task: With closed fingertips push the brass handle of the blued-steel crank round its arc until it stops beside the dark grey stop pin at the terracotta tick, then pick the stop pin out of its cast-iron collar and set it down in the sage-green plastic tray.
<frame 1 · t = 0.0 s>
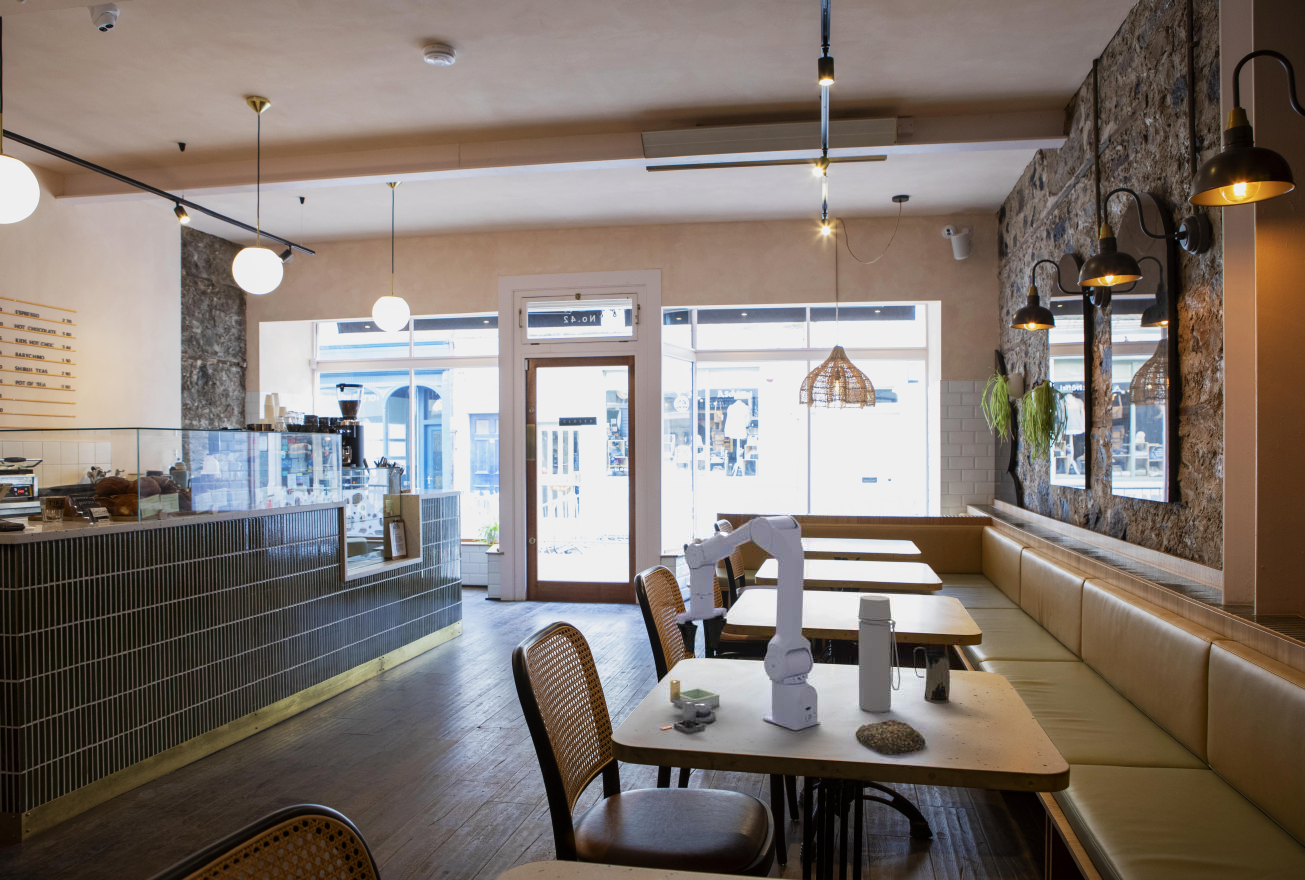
hand: (702, 649, 204), 10 cm above the table, fingers open, 7 cm apart
water bottle: (879, 710, 190), on the table
stop pin: (689, 728, 177), resting in crank base
crank base: (699, 718, 183), on the table
brown rock: (891, 745, 168), on the table
tray: (696, 704, 193), on the table
mug: (931, 700, 197), on the table
crank: (689, 697, 185), point 4 cm above the table, hinge at 10.0°
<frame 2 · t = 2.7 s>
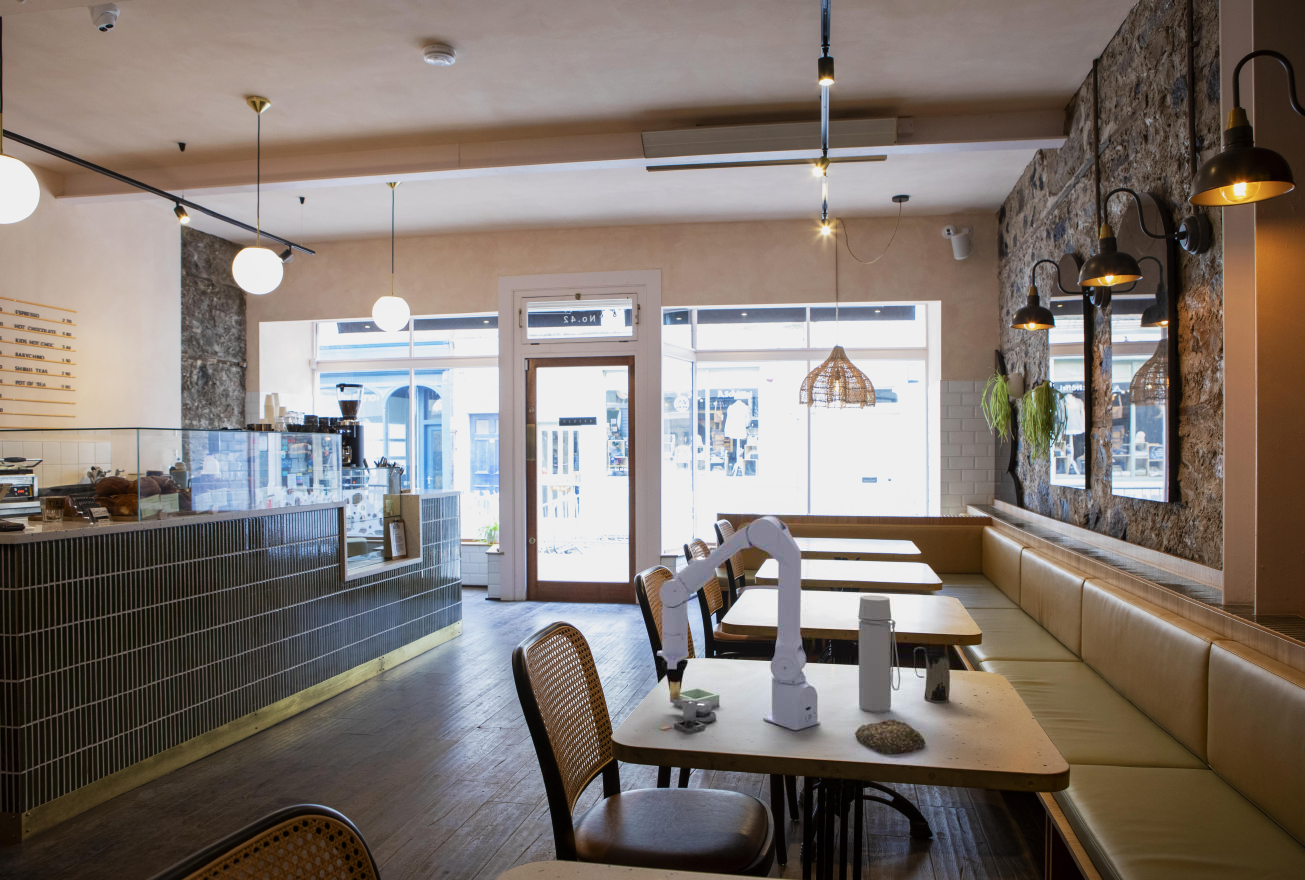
hand: (675, 693, 190), 4 cm above the table, fingers closed, pressing on crank
crank: (689, 697, 185), point 4 cm above the table, hinge at 10.8°, touching gripper
everything else where it was.
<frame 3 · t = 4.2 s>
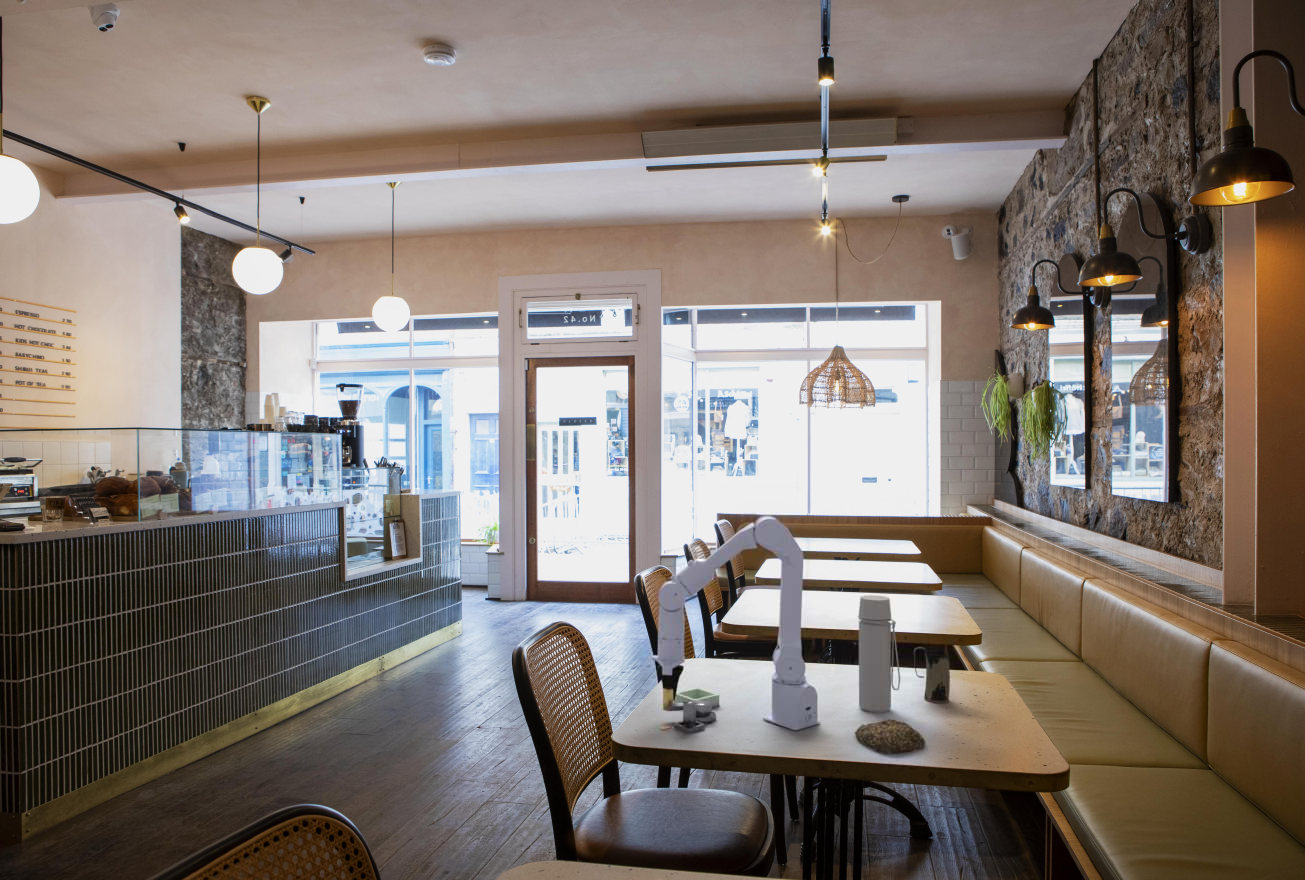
hand: (669, 699, 184), 4 cm above the table, fingers closed, pressing on crank
crank: (687, 700, 183), point 4 cm above the table, hinge at 60.8°, touching gripper
everything else where it was.
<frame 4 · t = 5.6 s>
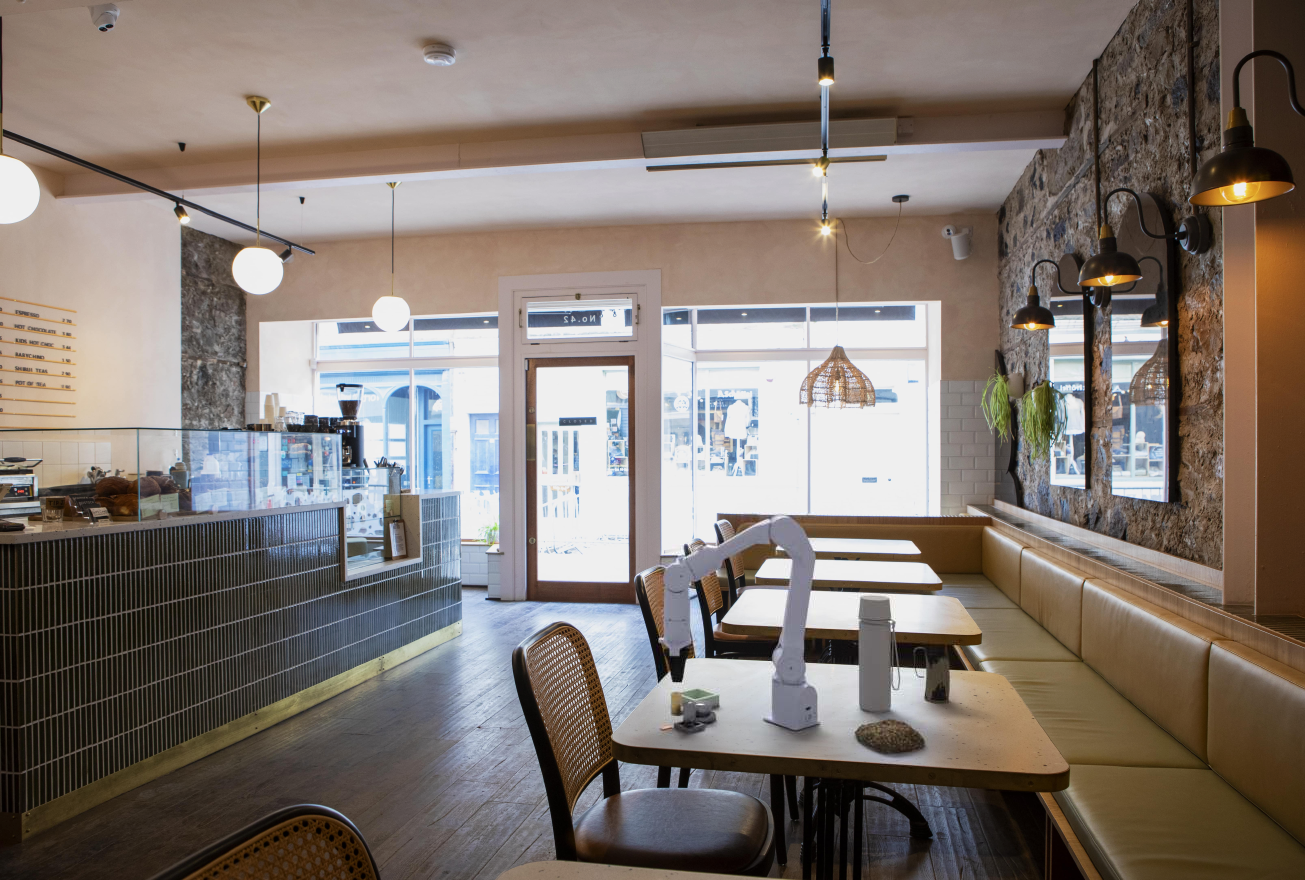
hand: (677, 681, 183), 8 cm above the table, fingers closed
crank: (690, 702, 181), point 4 cm above the table, hinge at 92.8°
everything else where it was.
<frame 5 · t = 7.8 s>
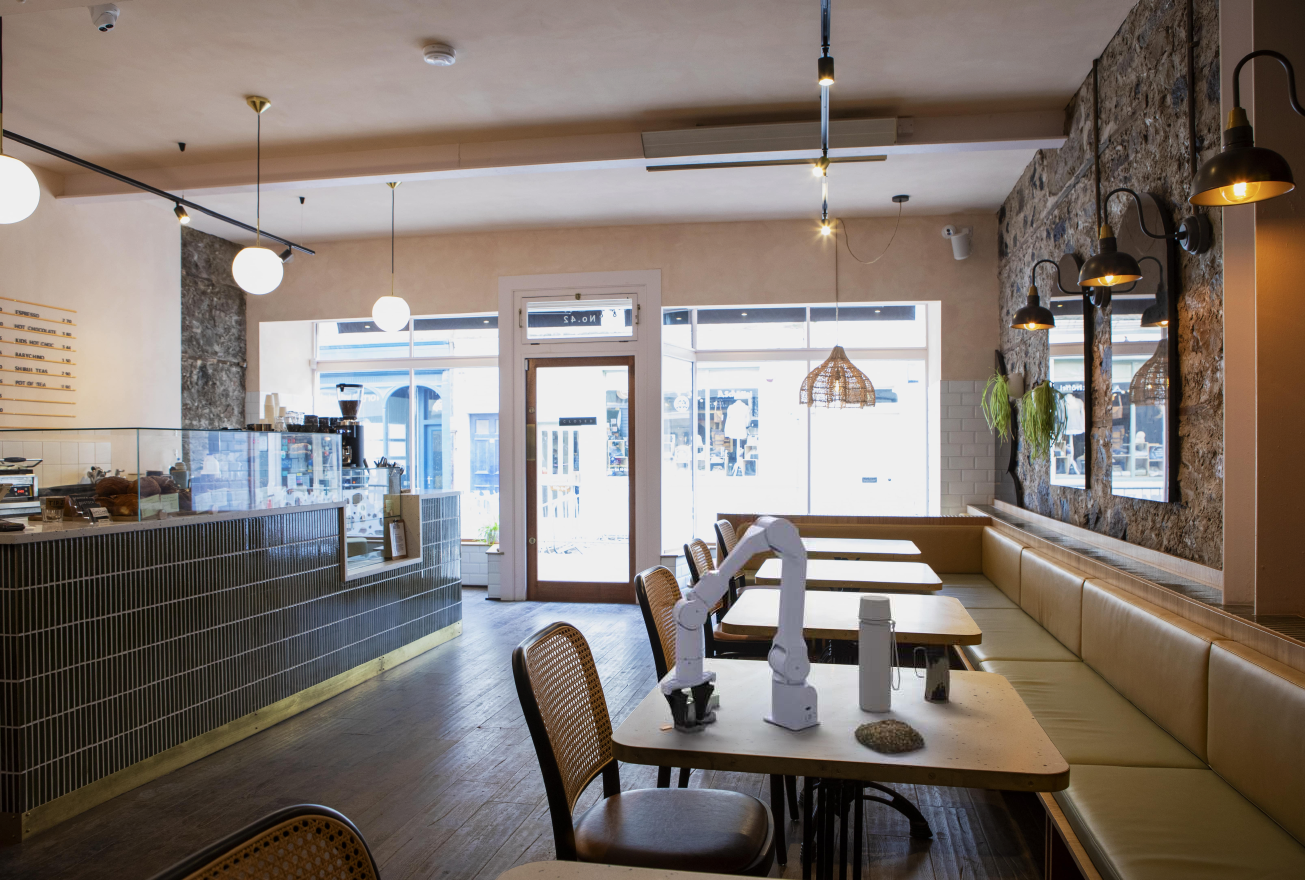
hand: (689, 721, 177), 1 cm above the table, fingers open, 5 cm apart
nothing on the table moved.
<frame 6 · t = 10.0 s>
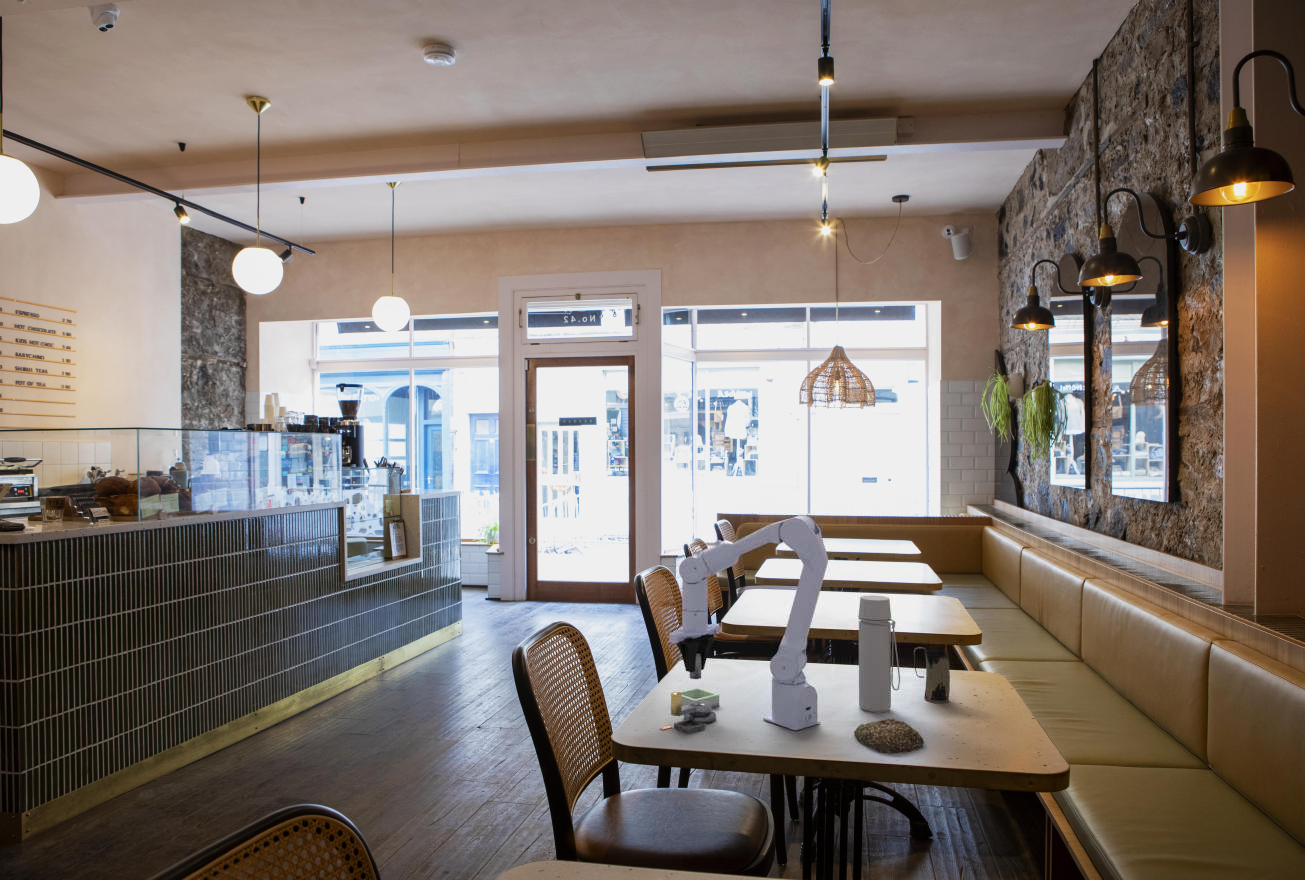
hand: (694, 670, 189), 9 cm above the table, fingers closed on stop pin, 3 cm apart
stop pin: (695, 677, 189), point 7 cm above the table, touching gripper
everything else where it was.
when the fingers open (3 cm above the table, at t = 11.5 s): stop pin drops 1 cm, resting on tray.
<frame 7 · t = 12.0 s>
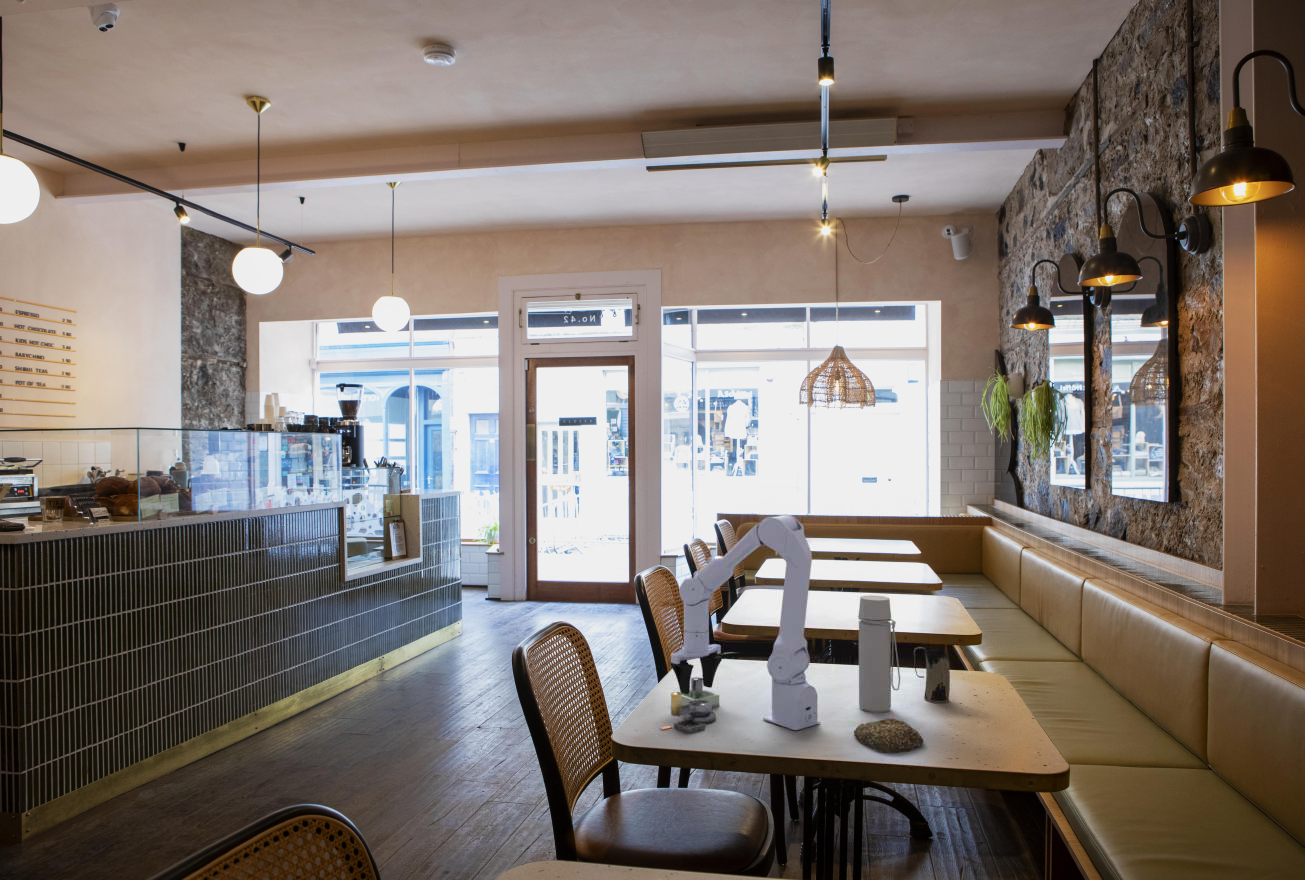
hand: (696, 689, 193), 3 cm above the table, fingers open, 7 cm apart
stop pin: (696, 702, 193), point 1 cm above the table, touching tray
everything else where it was.
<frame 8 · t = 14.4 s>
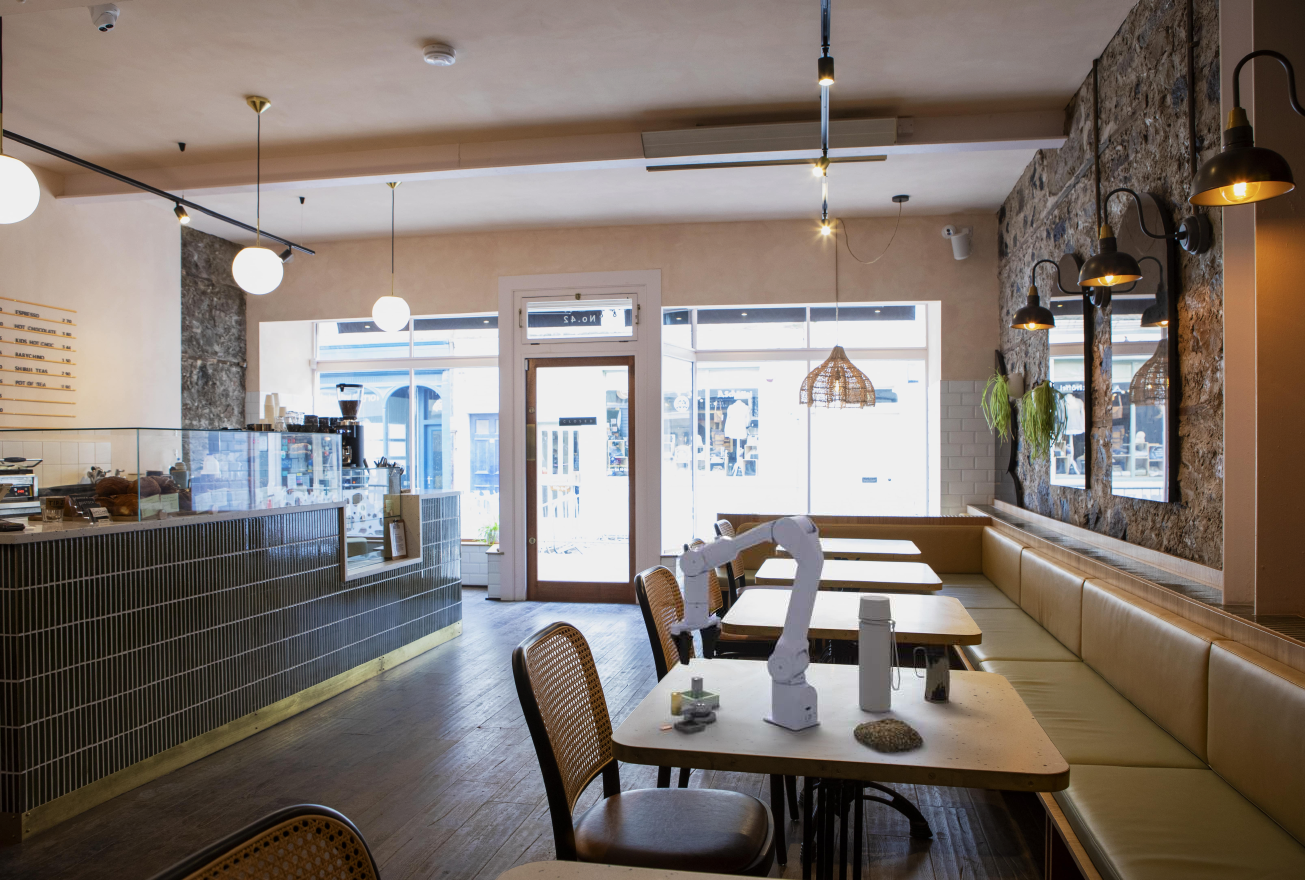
hand: (696, 661, 193), 10 cm above the table, fingers open, 7 cm apart
at the end: crank at +93° (first picture: +10°); stop pin 0.2 cm off-centre on the tray, point 0.5 cm above the tray's base; the gripper is holding nothing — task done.
